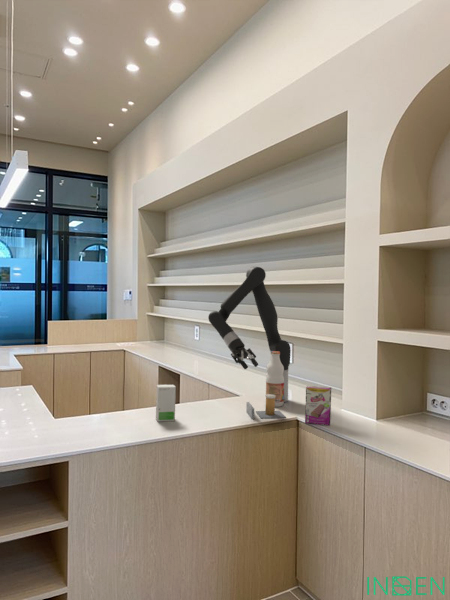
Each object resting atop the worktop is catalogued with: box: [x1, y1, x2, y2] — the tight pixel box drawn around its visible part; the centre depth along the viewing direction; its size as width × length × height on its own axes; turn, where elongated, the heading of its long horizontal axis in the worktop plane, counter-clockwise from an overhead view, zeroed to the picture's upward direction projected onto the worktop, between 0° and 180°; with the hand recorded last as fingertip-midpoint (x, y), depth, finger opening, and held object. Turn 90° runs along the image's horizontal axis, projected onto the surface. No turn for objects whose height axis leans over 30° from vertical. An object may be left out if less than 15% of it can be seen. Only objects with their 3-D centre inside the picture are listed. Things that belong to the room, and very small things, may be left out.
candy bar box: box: [304, 385, 332, 426], centre depth 200 cm, size 11×5×16 cm, turn 74°
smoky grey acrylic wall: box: [245, 401, 255, 421], centre depth 212 cm, size 13×1×5 cm, turn 8°
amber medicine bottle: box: [264, 394, 276, 415], centre depth 214 cm, size 5×5×9 cm
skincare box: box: [155, 384, 177, 422], centre depth 204 cm, size 8×7×16 cm
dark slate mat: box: [255, 410, 287, 420], centre depth 214 cm, size 12×12×1 cm
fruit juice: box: [265, 351, 285, 408], centre depth 233 cm, size 9×9×28 cm
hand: (251, 367), depth 221 cm, fingers open, 8 cm apart
